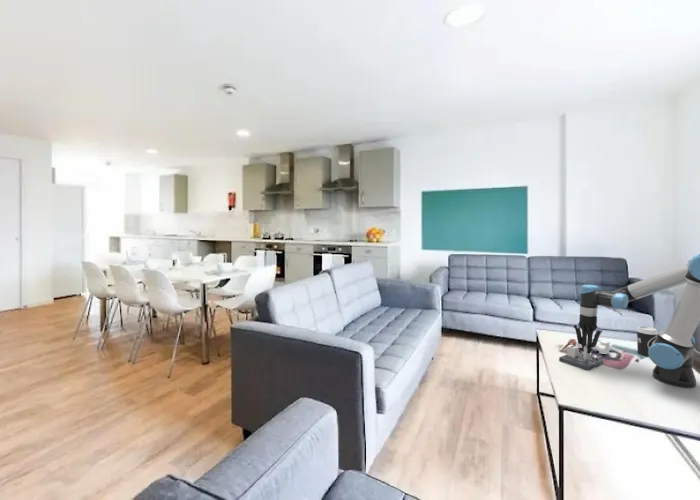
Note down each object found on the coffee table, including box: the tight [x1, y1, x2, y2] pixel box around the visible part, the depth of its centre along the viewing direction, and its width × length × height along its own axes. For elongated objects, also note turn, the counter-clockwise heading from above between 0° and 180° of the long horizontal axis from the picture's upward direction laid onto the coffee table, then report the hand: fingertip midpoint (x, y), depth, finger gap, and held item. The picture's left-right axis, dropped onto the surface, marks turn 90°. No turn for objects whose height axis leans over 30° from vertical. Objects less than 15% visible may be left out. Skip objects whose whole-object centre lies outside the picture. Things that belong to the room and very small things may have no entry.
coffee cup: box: [635, 325, 659, 357], centre depth 195 cm, size 10×10×15 cm
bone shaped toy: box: [575, 333, 611, 355], centre depth 201 cm, size 15×9×8 cm, turn 35°
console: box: [558, 352, 604, 372], centre depth 185 cm, size 14×16×4 cm
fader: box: [566, 344, 580, 358], centre depth 189 cm, size 4×4×5 cm
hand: (586, 358), depth 183 cm, fingers closed
